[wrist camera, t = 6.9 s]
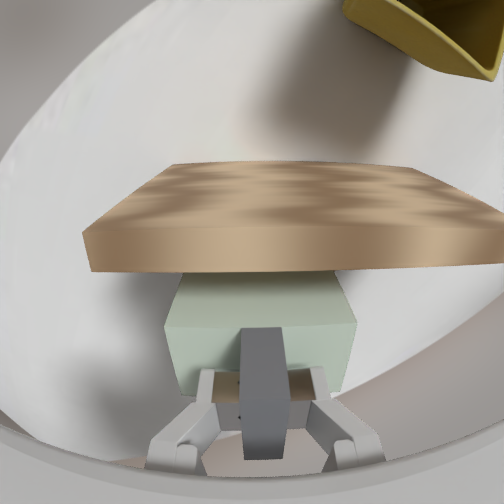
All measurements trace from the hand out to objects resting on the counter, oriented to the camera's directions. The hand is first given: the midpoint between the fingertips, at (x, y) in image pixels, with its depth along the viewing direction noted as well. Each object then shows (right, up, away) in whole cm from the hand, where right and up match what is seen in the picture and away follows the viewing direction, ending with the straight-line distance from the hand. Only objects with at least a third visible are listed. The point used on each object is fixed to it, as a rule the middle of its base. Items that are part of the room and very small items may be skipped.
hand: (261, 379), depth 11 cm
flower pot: (+10, +22, +5) cm, 25 cm away
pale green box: (0, +3, +6) cm, 7 cm away
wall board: (+3, +8, +12) cm, 14 cm away
